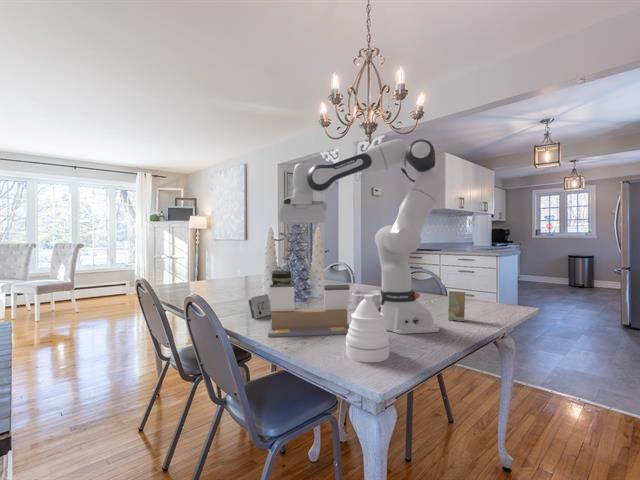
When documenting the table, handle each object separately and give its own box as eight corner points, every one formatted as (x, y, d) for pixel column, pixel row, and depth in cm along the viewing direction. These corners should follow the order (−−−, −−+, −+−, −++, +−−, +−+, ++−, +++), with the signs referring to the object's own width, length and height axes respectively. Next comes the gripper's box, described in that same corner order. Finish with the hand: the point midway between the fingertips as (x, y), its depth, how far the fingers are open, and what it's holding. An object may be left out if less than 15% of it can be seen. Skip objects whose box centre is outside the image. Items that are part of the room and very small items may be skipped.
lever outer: (294, 309, 125) (294, 285, 128) (294, 309, 123) (294, 284, 126) (270, 310, 124) (270, 285, 127) (269, 309, 122) (270, 284, 125)
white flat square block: (347, 306, 126) (348, 284, 123) (348, 309, 125) (349, 287, 121) (323, 307, 126) (324, 285, 122) (323, 310, 124) (324, 288, 120)
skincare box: (448, 320, 135) (448, 290, 135) (448, 317, 139) (448, 288, 139) (465, 321, 133) (465, 291, 132) (464, 319, 137) (464, 289, 137)
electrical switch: (256, 319, 140) (254, 297, 140) (248, 318, 143) (246, 297, 144) (272, 315, 147) (270, 294, 148) (264, 314, 151) (263, 294, 151)
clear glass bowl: (351, 305, 165) (351, 289, 165) (382, 305, 163) (382, 289, 163) (351, 312, 150) (351, 295, 150) (385, 313, 148) (385, 295, 148)
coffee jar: (269, 310, 156) (269, 271, 156) (274, 306, 164) (273, 269, 164) (290, 310, 155) (289, 271, 155) (293, 306, 163) (293, 269, 163)
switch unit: (345, 322, 133) (345, 305, 133) (352, 333, 119) (352, 313, 119) (270, 325, 130) (270, 307, 130) (268, 337, 116) (267, 316, 116)
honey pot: (395, 361, 93) (394, 297, 93) (349, 363, 92) (349, 299, 92) (382, 345, 106) (382, 289, 106) (342, 347, 105) (342, 290, 105)
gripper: (328, 201, 142) (328, 233, 142) (283, 201, 147) (282, 233, 147) (325, 199, 136) (324, 233, 136) (278, 200, 140) (277, 233, 141)
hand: (302, 233), depth 141 cm, fingers open, 8 cm apart
